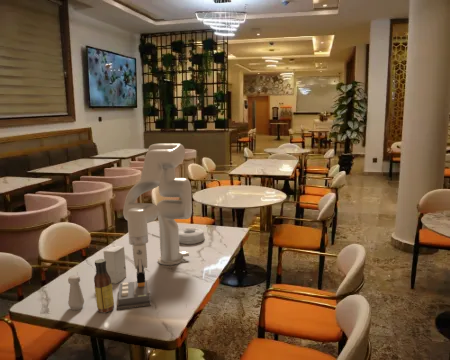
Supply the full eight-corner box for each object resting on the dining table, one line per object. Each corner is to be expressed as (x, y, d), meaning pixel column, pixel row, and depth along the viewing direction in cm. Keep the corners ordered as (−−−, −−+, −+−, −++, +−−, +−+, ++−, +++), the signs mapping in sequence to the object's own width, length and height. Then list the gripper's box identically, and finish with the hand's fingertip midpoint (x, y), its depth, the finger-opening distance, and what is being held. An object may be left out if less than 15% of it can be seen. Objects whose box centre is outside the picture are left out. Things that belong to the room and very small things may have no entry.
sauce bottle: (115, 305, 154) (112, 257, 151) (112, 313, 148) (108, 263, 144) (99, 305, 154) (95, 257, 150) (94, 313, 148) (90, 263, 144)
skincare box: (116, 284, 173) (114, 252, 170) (105, 282, 175) (102, 250, 172) (127, 276, 181) (124, 245, 178) (115, 275, 183) (113, 244, 180)
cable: (171, 238, 235) (170, 228, 234) (198, 233, 242) (198, 224, 241) (180, 247, 220) (179, 236, 218) (209, 242, 227) (208, 232, 226)
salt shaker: (71, 304, 155) (68, 273, 153) (86, 303, 156) (83, 272, 153) (66, 312, 149) (63, 280, 147) (82, 311, 150) (79, 279, 148)
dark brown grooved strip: (150, 303, 155) (150, 300, 155) (150, 305, 153) (150, 303, 153) (117, 307, 152) (117, 304, 152) (117, 310, 150) (117, 307, 150)
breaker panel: (148, 286, 170) (148, 277, 169) (150, 302, 155) (149, 292, 155) (120, 290, 167) (119, 280, 166) (118, 306, 153) (118, 296, 152)
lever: (144, 283, 165) (144, 269, 164) (145, 286, 163) (144, 271, 162) (137, 284, 164) (136, 269, 163) (137, 287, 162) (136, 272, 161)
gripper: (148, 243, 150) (151, 288, 153) (147, 232, 164) (149, 273, 168) (128, 245, 148) (131, 291, 152) (128, 234, 163) (131, 275, 166)
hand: (141, 281), depth 160 cm, fingers closed
